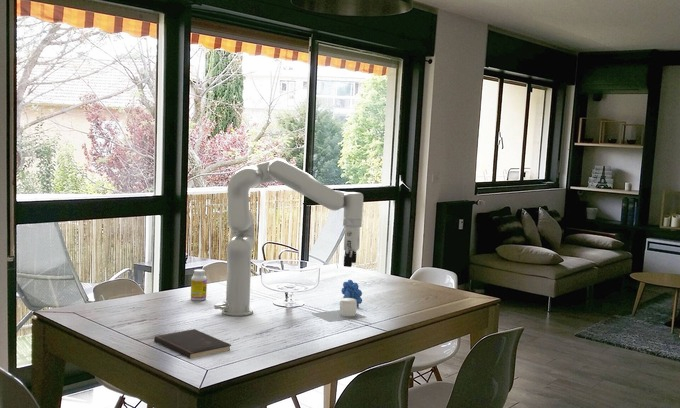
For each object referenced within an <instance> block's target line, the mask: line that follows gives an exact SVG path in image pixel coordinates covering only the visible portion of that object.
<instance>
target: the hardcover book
mask: <svg viewBox="0 0 680 408" xmlns="http://www.w3.org/2000/svg"><path fill="white" fill-rule="evenodd" d="M153 342H155V343H157V344H159V345H161V346H163V347H166V349H169V350H171V351H173V352H176V353H178V354H180V355H182V356H184V357H186V358H188V359H194V358H198V357H203V356H207V355H212V354H217V353H221V352H225V351H230V348H231V346H232V344H231V343H229V342H226V341H223V340H220V339H219V338H216V337H214V336H212V335H209V334H208V333H205V332H202V331H201V330H197V329H196V328H193V329H188V330H182V331H177V332H176V331H175V332H171V333H170V332H169V333H166V334H160V335H155V336H154V339H153Z"/></svg>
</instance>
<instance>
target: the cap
mask: <svg viewBox="0 0 680 408" xmlns="http://www.w3.org/2000/svg"><path fill="white" fill-rule="evenodd" d="M357 308H358V307H357V302H356V299H353V298H343V297H342V298H341V299H340V301H339V310H340V313H339V314H340V315H342V316H355V315H356V313H357Z"/></svg>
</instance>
